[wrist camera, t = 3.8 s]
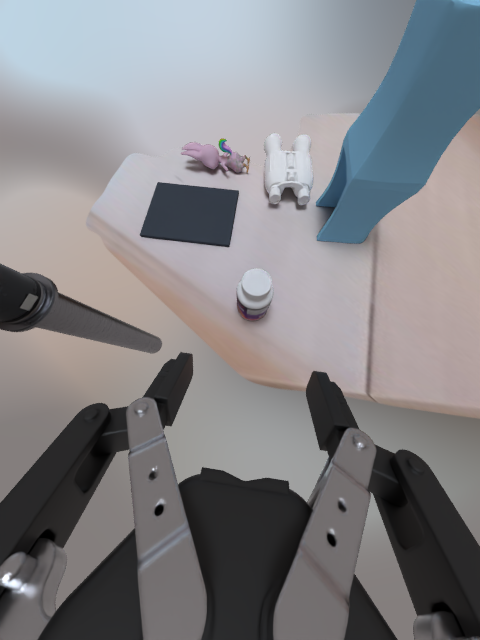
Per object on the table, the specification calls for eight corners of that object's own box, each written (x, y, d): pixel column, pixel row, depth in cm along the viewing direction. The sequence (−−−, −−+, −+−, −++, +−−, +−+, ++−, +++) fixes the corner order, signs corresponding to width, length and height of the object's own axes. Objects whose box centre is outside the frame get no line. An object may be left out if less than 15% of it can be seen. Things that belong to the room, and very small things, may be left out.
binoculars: (307, 156, 44) (314, 131, 40) (311, 209, 40) (320, 189, 35) (262, 154, 44) (265, 129, 40) (262, 208, 40) (265, 187, 35)
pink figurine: (248, 165, 45) (184, 149, 43) (254, 136, 39) (181, 116, 37) (245, 185, 43) (179, 169, 41) (251, 157, 38) (175, 137, 36)
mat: (141, 236, 38) (139, 234, 37) (158, 184, 42) (157, 182, 41) (229, 247, 37) (228, 245, 37) (238, 193, 41) (238, 190, 40)
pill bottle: (235, 294, 34) (234, 265, 25) (264, 291, 34) (273, 261, 25) (239, 323, 33) (238, 303, 23) (269, 319, 33) (281, 298, 24)
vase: (366, 244, 37) (594, 12, 13) (316, 240, 38) (453, 4, 14) (362, 205, 40) (545, -47, 16) (316, 202, 40) (428, -51, 16)
